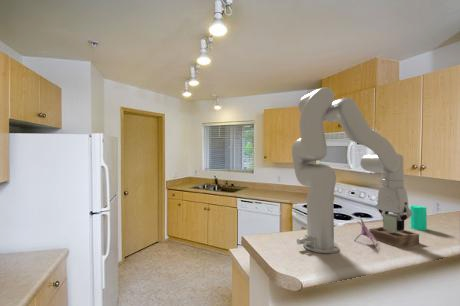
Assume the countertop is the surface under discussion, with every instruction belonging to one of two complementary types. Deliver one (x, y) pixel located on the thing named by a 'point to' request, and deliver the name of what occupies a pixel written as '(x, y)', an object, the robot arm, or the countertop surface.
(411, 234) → the base block
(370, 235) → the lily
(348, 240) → the countertop surface
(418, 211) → the candle
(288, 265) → the countertop surface
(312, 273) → the countertop surface
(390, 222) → the sage block
